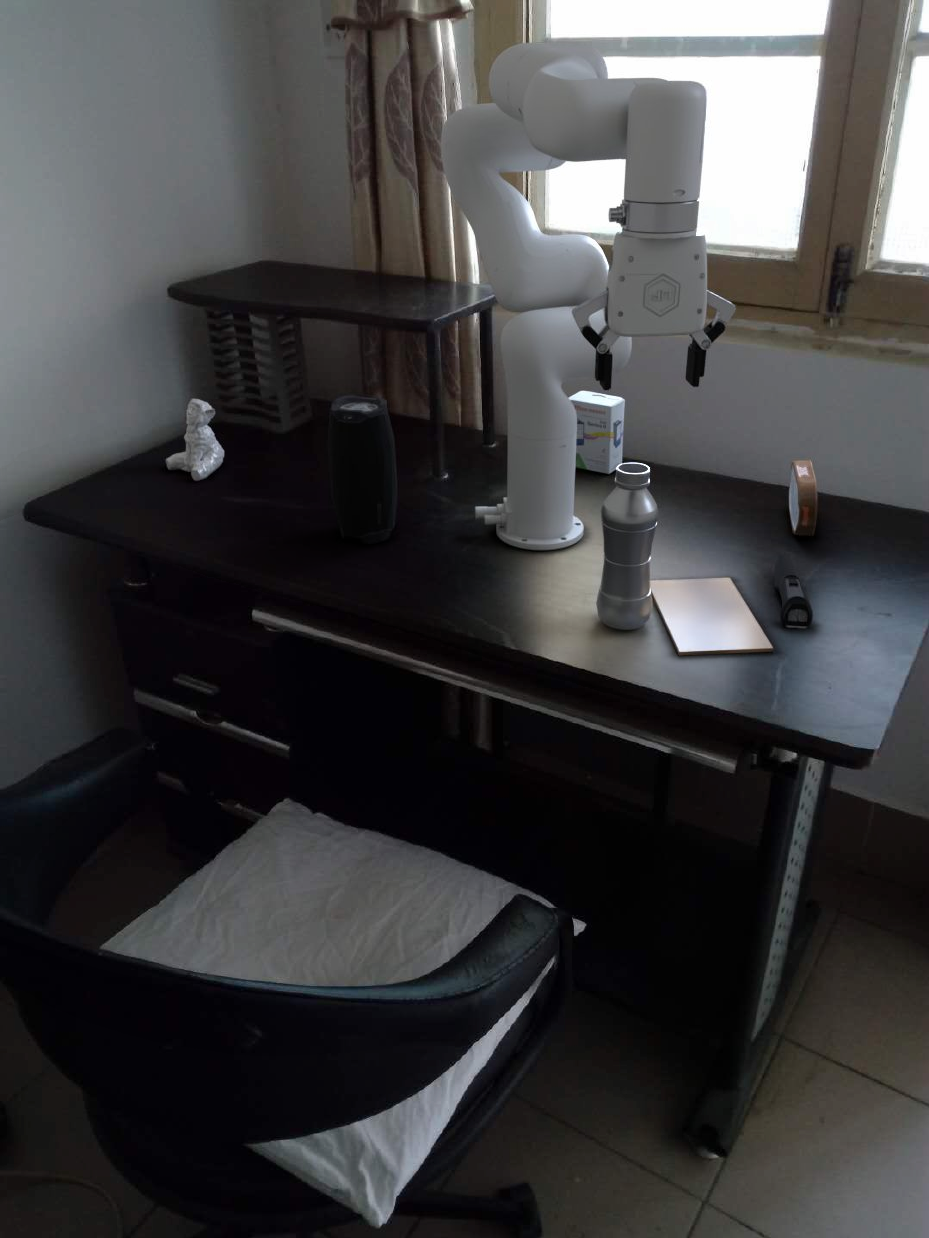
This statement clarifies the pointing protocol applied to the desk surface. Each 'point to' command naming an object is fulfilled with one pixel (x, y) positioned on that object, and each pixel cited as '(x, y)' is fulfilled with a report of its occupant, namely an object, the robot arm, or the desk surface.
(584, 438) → the ink box
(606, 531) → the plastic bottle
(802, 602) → the electric trimmer
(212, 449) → the sitting furry creature
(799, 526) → the tin
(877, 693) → the desk surface
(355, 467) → the portable speaker
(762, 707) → the desk surface
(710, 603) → the wooden board
